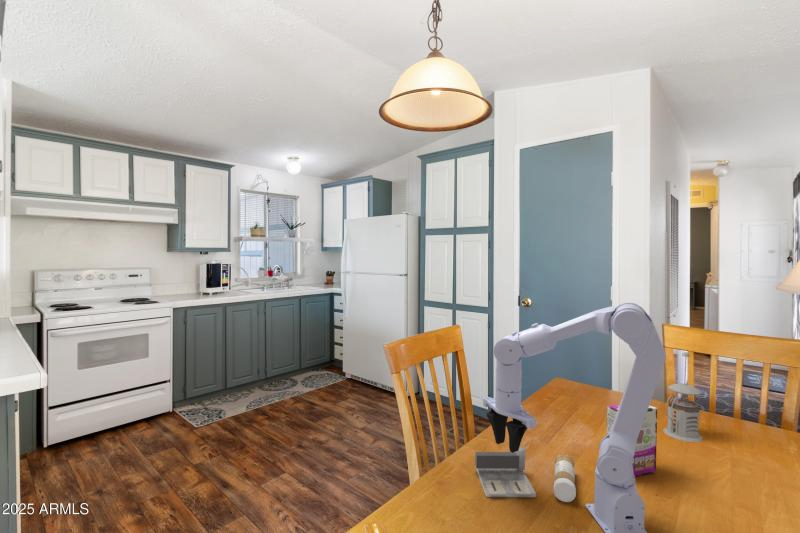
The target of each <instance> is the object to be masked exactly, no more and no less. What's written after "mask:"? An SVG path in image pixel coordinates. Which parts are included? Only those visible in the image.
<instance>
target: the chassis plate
mask: <svg viewBox="0 0 800 533" xmlns="http://www.w3.org/2000/svg"><path fill="white" fill-rule="evenodd" d="M475 470H476V473H477V476H478V479H479V482H480V484H481V487H482V489H483V491H484V494H485V495H484V496H485V497H486V498H536V496H537V494H536V491H535V489H534V488H533V485H532V483H531V482H530V480H529V478H528V477H527V475H526V473H525V472H524V470H518V469H477V468H476V467H475Z"/></svg>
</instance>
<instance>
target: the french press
mask: <svg viewBox="0 0 800 533" xmlns="http://www.w3.org/2000/svg"><path fill="white" fill-rule="evenodd" d="M682 357H685V361H684V378H687V377H686V376H687V375H686V374H687V373H686V372H687V358H689V357H691V356H690V353H689V352H687V351H683V353H682ZM683 381H684V382H683V383H682V382H681V383H680V382H679V383H674V384H670V385H668V387H667V388H668V390H669V391H671V392H673V393H676V394H680V395H683V398H680V397H679V396H676V397H675V398H674V395H673V394H670V396H668V398H667V401H666V402H665V415H666V417H667V423H666V424H667V425H666V427H665V428H663V430H662V431H663V433H664V434H665V435H666V436H669V437H671V438H674V439H676V440H679V441H683V442H686V443H687V442H688V443H689V442H691V443H700V442H702V441H703V440H704V439H703V437H702V435H701V434H700V432H699V431H700V428H699V427H700V424H699V423H700V416H701V414H700V409H699V404H698V403H697V402H695V401H692V400H689V399H686V398H685V396H700V395H701V394H702V391H701V390H700V389H699V388H697V387H696V386H693V385H691V384H688V383H686V379H684V380H683ZM669 402H670V403H669Z"/></svg>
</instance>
